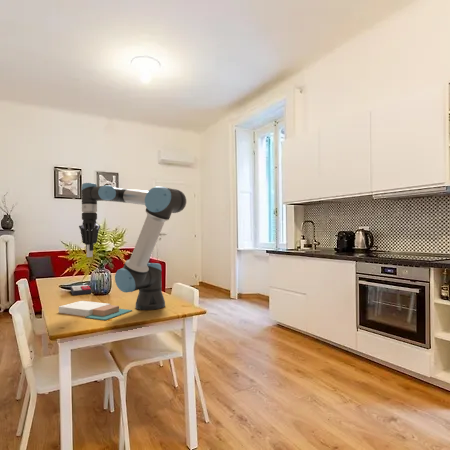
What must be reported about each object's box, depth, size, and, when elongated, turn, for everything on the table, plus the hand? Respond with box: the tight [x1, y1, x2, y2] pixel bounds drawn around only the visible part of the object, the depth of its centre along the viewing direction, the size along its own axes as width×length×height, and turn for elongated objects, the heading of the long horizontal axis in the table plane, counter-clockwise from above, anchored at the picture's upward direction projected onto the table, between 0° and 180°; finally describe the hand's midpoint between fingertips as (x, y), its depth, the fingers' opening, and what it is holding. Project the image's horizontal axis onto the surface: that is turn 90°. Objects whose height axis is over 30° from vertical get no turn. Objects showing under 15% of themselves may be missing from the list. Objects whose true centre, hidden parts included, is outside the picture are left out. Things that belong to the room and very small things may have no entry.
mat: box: [84, 308, 133, 321], centre depth 157 cm, size 18×12×1 cm, turn 156°
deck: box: [58, 300, 111, 317], centre depth 163 cm, size 14×20×3 cm
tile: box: [93, 304, 120, 316], centre depth 158 cm, size 10×7×2 cm
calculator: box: [70, 284, 93, 296], centre depth 212 cm, size 11×4×15 cm
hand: (89, 256), depth 173 cm, fingers closed
